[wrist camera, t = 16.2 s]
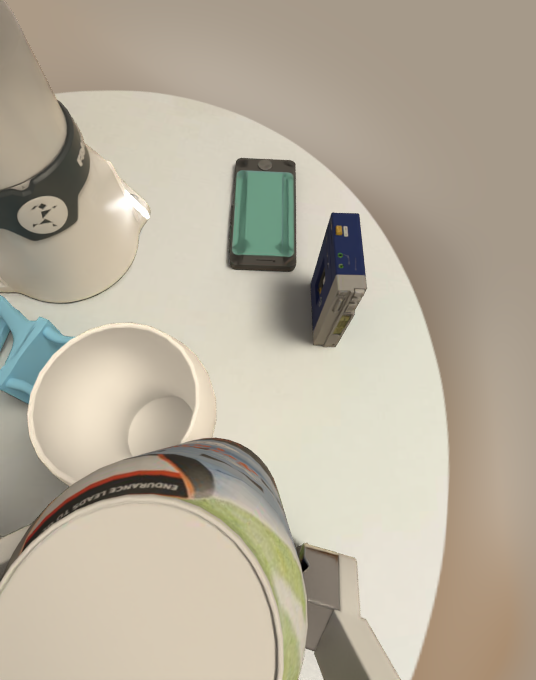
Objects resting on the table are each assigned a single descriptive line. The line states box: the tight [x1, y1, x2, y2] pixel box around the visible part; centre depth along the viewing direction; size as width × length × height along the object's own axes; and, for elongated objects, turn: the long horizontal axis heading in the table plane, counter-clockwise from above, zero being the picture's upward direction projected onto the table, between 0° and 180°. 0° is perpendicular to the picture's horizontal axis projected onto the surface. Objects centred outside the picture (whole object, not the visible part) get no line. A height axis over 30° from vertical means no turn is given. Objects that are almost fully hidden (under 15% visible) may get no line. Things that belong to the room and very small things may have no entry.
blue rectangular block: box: [311, 213, 367, 347], centre depth 35 cm, size 7×2×12 cm, turn 0°
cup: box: [27, 323, 216, 486], centre depth 29 cm, size 11×11×15 cm
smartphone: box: [229, 158, 296, 271], centre depth 45 cm, size 7×1×15 cm
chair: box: [0, 295, 75, 404], centre depth 34 cm, size 8×8×12 cm
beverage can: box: [0, 438, 308, 680], centre depth 12 cm, size 6×7×12 cm
